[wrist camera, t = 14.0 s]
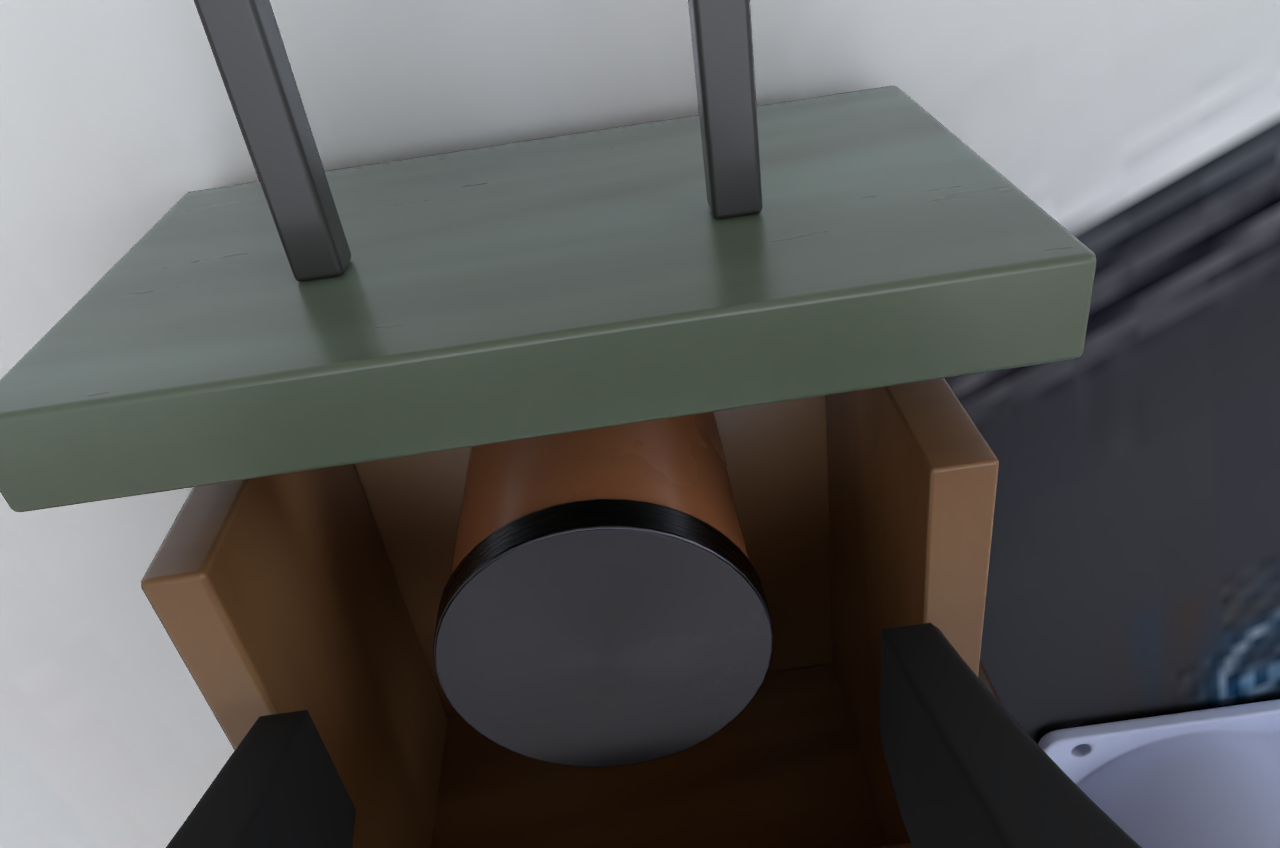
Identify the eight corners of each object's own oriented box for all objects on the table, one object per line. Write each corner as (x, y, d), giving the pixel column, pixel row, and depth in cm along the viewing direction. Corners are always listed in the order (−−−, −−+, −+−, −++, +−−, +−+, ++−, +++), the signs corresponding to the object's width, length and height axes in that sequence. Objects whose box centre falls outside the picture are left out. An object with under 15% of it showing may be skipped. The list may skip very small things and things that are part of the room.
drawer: (40, -161, 12) (-405, -135, 7) (903, -297, 12) (1198, -391, 6) (397, 709, 22) (338, 1026, 16) (887, 640, 22) (999, 937, 16)
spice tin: (712, 316, 16) (764, 502, 11) (733, 529, 18) (782, 745, 14) (438, 357, 16) (390, 555, 12) (497, 563, 18) (475, 787, 14)
